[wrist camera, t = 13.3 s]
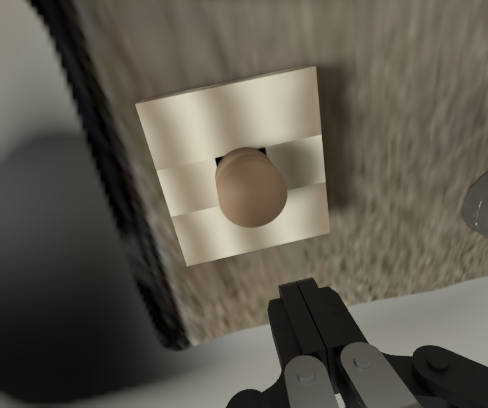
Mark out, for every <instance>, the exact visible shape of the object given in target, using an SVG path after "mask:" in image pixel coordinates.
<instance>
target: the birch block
mask: <svg viewBox="0 0 488 408" xmlns="http://www.w3.org/2000/svg"><path fill="white" fill-rule="evenodd" d="M135 105H136V108H137V111H138V114H139V117H140V120H141V124H142V127H143V130H144V133H145V136H146V139H147V142H148V145H149V149H150V152H151V155H152V158H153V161H154V164H155V167H156V171H157V174H158V177H159V180H160V183H161V186H162V189H163V192H164V196H165V199H166V202H167V205H168V208H169V211H170V214H171V218H172V221H173V224H174V227H175V230H176V233H177V236H178V240H179V243H180V246H181V249H182V252H183V255H184V258H185V261H186V265H187V266H191V265H195V264H199V263H203V262H208V261H212V260H216V259H220V258H225V257H229V256H233V255H238V254H242V253H246V252H250V251H255V250H259V249H263V248H267V247H272V246H276V245H280V244H284V243H289V242H293V241H297V240H301V239H306V238H310V237H314V236H319V235H323V234H327V233H330V227H329V216H328V204H327V192H326V180H325V168H324V157H323V145H322V133H321V121H320V109H319V98H318V86H317V74H316V66H306V67H295V68H290V69H285V70H281V71H276V72H271V73H266V74H261V75H257V76H252V77H247V78H242V79H238V80H233V81H228V82H223V83H218V84H214V85H209V86H204V87H199V88H195V89H190V90H185V91H180V92H175V93H171V94H166V95H161V96H156V97H152V98H147V99H144V100H142V101H140V102H138V103H136V104H135ZM242 147H249V148H254V149H258V150H259V151H261V152H262V153H264V154H265V155H266V156H267V157H268V158H269V160H270V161H271V162H272V164H273V165H274V166H275V167H276V169H277V170H278V171H279V172H280V174H281V175H282V176H283V178H284V180H285V182H286V185H287V192H288V195H287V201H286V204H285V207H284V209H283V210H282V212H281V213H280V214H279V216H278V217H277V218H276V219H274V220H273V221H272V222H270V223H268V224H266V225H264V226H260V227H256V228H246V227H241V226H238V225H236V224H234V223H232V222H231V221H229V220H228V219H227V218H226V217H225V216H224V214H223V213H222V211H221V209H220V206H219V201H218V194H217V187H216V180H215V173H216V168H217V163H216V158H217V157H221V156H225V155H226V154H227V153H229V152H230V151H232V150H234V149H237V148H242Z"/></svg>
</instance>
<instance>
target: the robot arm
mask: <svg viewBox="0 0 488 408" xmlns="http://www.w3.org/2000/svg"><path fill="white" fill-rule="evenodd" d="M463 216H464V220H465V222H466V223H467V225H468V226H469V227H470V228H471V229H473V230H475V231H476V232H478V233H480V234H481V235H483V236H485V237H487V238H488V172H487V173H486V174H484V175H483V176H482V177H481V178H480V179H478V181H477V182H476V183H475V184H474V185H473V186H472V188H471V189H470V191H469V193H468V194H467V197H466V199H465V202H464V207H463ZM278 288H279V294H280V298H278V299H274V300H270V302H269V306H268V310H267V311H268V316H269V321H270V326H271V330H272V335H273V339H274V343H275V347H276V350H277V354H278V358H279V362H280V365H281V369H282V372H281V375H280V377H279V379H278V380H277V381H276V383H275V384H274V385H272V386H271V387H270V388H268V389H266V390H265V391H263V392H260V391H258V390H254V389H246V390H243V391H240V392H238V393H237V394H236V395H234V396H233V397H232V399H231V400H230V401H229V403H228V405H227V406H226V408H339V407H338V403H337V400H336V397H335V394H338V393H340V394H341V396H342V399H343V401H344V403H345V408H488V367H486V366H484V365H482V364H479V363H477V362H475V361H472V360H470V359H468V358H465V357H463V356H461V355H458V354H456V353H454V352H451V351H449V350H447V349H444V348H441V347H438V346H433V345H427V346H422V347H419V348H418V349H416V350H415V352H414V353H413V356H411V357H410V356H395V355H389V354H385V353H382V352H380V351H379V350H378V349H377V348H376V347H374V346H372V345H370V344H369V343H368V342H367V340H366V338H365V337H364V335H363V334H362V332H361V331H360V329H359V327H358V325H357V324H356V322H355V321H354V319H353V317H352V316H351V314H350V313H349V312H348V309H347V308H346V306H345V304H344V303H343V301H342V299H341V298H340V296H339V295H338V293H337V292H335V291H334V290H332V289H331V288H330V287H328V286H327V287H323V288H318V286H317V284H316V282H315V280H314V278H313V277H311V278H307V279H303V280H299V281H296V282H291V283H286V284H282V285H278Z"/></svg>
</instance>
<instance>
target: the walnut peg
mask: <svg viewBox="0 0 488 408" xmlns="http://www.w3.org/2000/svg"><path fill="white" fill-rule="evenodd" d="M215 180H216V187H217V194H218V201H219V206H220V209H221V211H222V213H223V214H224V216H225V217H226V218H227V219H228V220H229V221H231V222H232V223H234V224H236V225H238V226H241V227H246V228H256V227H260V226H264V225H266V224H268V223H270V222H272V221H273V220H274V219H276V218H277V217H278V216H279V214H280V213H281V212H282V210H283V209H284V207H285V204H286V201H287V195H288V192H287V185H286V182H285V180H284V178H283V176H282V175H281V174H280V172H279V171H278V170H277V169H276V167H275V166H274V165H273V164H272V162H271V161H270V160H269V158H268V157H267V156H266V155H265V154H264V153H262V152H261V151H259V150H257V149H254V148H249V147H242V148H237V149H234V150H232V151H230V152H229V153H227V154H226V155H225V156H224V157H223V158H222V159H221V160H220V162H219V164H218V166H217V168H216V173H215Z"/></svg>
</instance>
